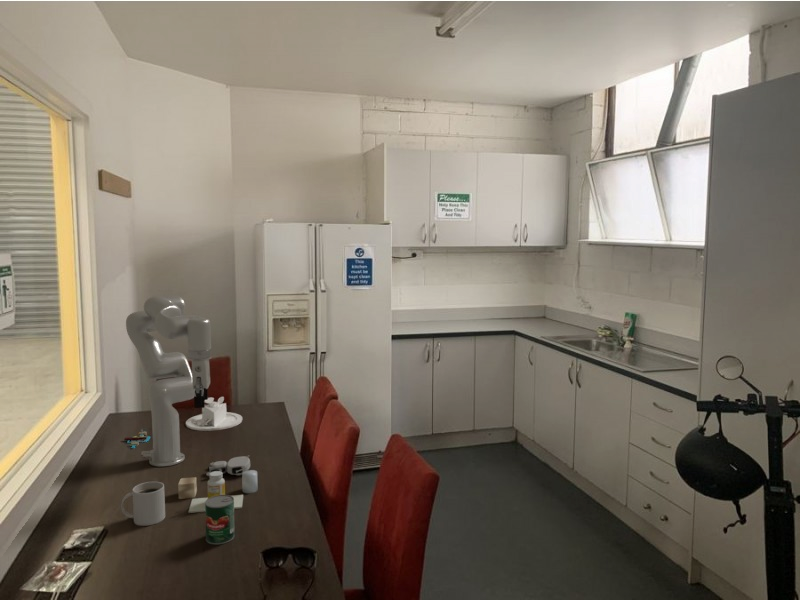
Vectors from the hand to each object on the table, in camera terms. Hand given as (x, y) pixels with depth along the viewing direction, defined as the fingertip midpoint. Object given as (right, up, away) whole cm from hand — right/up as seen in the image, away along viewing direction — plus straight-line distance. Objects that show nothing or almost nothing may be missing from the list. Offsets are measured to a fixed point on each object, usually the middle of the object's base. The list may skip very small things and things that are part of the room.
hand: (201, 403), depth 202 cm
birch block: (-2, -29, -7) cm, 30 cm away
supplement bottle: (+9, -30, -13) cm, 34 cm away
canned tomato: (+17, -32, -34) cm, 50 cm away
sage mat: (+9, -30, -13) cm, 34 cm away
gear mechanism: (-42, -24, +45) cm, 66 cm away
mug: (-9, -31, -23) cm, 40 cm away
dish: (-18, -21, +71) cm, 76 cm away
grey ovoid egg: (+17, -29, -2) cm, 34 cm away
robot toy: (+6, -28, +12) cm, 31 cm away
